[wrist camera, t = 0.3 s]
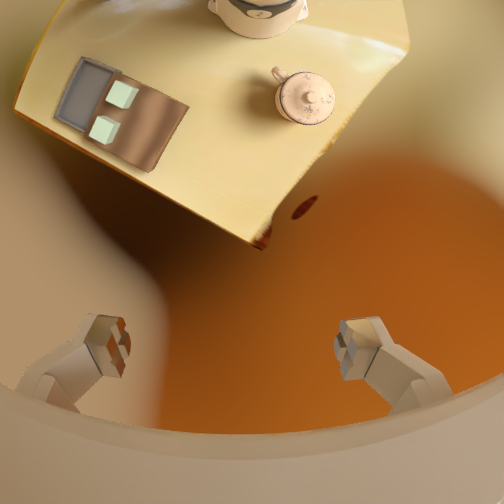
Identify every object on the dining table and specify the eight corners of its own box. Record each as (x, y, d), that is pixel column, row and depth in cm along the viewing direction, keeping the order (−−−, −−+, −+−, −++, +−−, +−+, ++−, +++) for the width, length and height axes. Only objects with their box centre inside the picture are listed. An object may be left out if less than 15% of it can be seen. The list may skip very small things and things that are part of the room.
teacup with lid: (330, 104, 46) (352, 102, 36) (296, 132, 49) (310, 137, 39) (287, 58, 42) (300, 44, 32) (252, 87, 45) (255, 80, 34)
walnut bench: (189, 106, 46) (185, 106, 42) (154, 168, 51) (148, 173, 47) (123, 74, 41) (115, 72, 38) (92, 135, 46) (83, 137, 43)
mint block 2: (139, 89, 40) (133, 88, 37) (128, 108, 41) (122, 108, 39) (122, 81, 39) (115, 80, 36) (112, 100, 40) (105, 100, 38)
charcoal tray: (122, 71, 41) (117, 70, 39) (91, 132, 46) (86, 134, 44) (87, 57, 38) (81, 56, 36) (60, 116, 43) (53, 117, 41)
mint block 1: (120, 123, 43) (114, 124, 40) (111, 142, 44) (104, 144, 41) (104, 115, 41) (97, 116, 39) (96, 134, 43) (88, 136, 40)
